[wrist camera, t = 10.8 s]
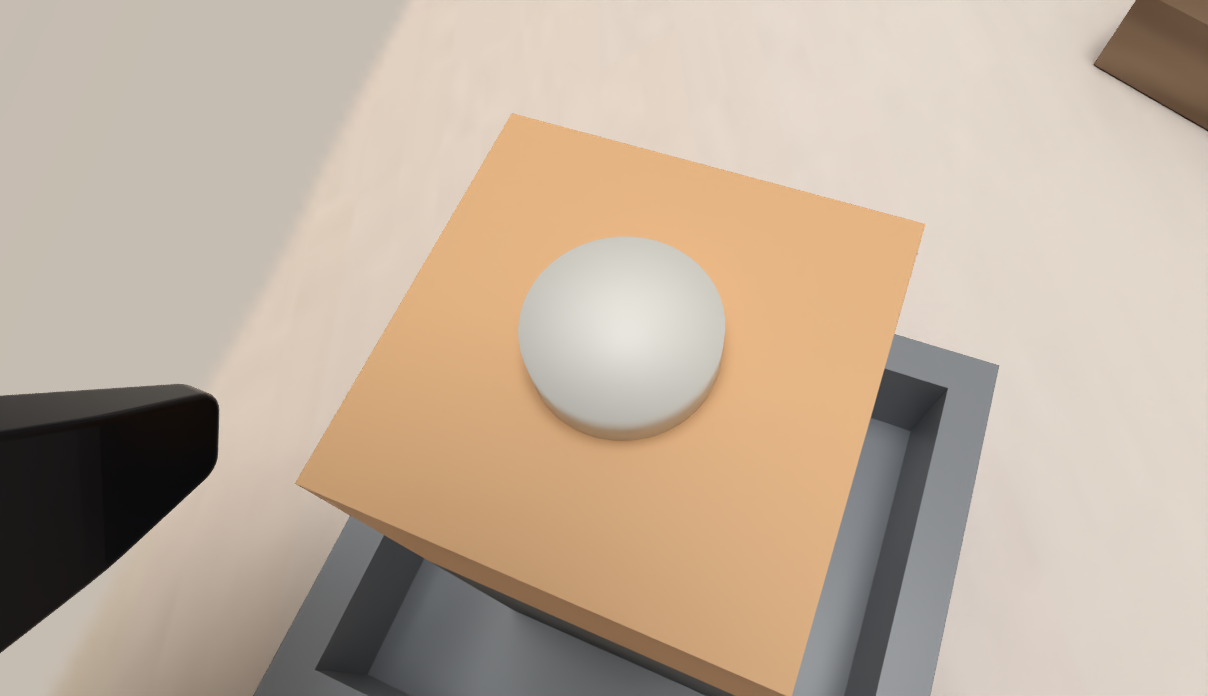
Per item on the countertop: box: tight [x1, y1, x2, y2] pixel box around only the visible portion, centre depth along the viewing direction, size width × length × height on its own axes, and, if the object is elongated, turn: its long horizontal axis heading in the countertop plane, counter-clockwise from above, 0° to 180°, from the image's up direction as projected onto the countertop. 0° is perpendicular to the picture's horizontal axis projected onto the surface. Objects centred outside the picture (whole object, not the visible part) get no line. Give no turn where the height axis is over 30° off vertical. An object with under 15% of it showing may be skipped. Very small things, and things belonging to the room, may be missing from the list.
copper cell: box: [295, 114, 925, 696], centre depth 11 cm, size 4×4×10 cm
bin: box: [253, 334, 999, 696], centre depth 15 cm, size 11×11×4 cm
